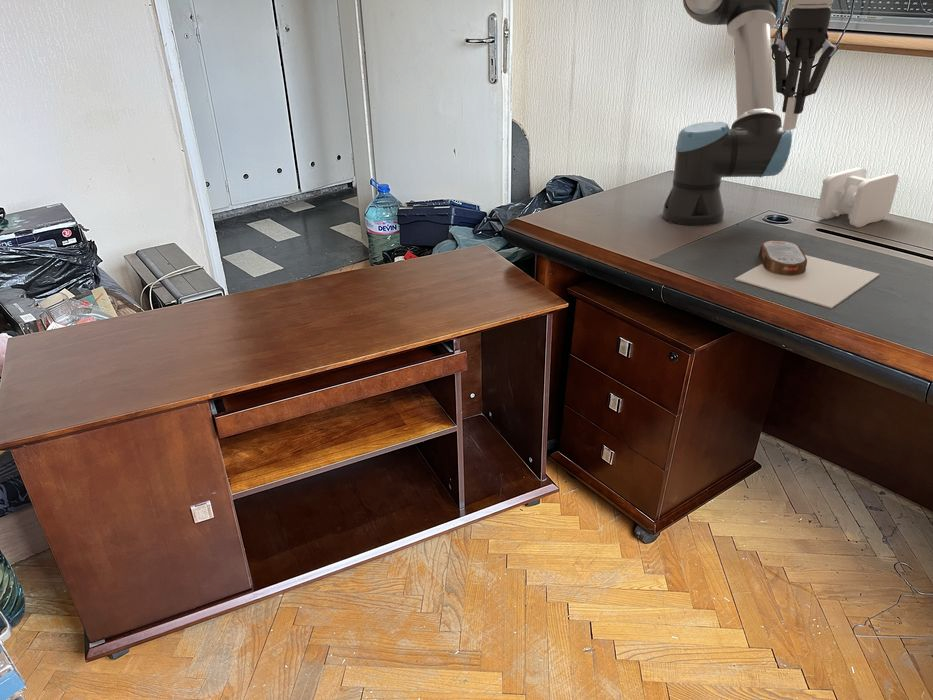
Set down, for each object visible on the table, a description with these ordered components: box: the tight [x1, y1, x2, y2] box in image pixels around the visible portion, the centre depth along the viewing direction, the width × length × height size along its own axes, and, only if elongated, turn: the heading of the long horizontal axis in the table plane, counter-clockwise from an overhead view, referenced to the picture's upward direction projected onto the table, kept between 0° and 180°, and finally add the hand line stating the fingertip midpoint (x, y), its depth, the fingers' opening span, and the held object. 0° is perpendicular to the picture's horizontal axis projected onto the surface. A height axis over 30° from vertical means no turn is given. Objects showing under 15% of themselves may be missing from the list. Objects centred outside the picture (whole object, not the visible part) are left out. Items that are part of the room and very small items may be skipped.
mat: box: [734, 254, 880, 309], centre depth 143 cm, size 20×22×1 cm
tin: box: [758, 239, 807, 276], centre depth 149 cm, size 15×3×8 cm
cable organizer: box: [816, 167, 900, 229], centre depth 170 cm, size 15×11×12 cm
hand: (789, 128), depth 147 cm, fingers closed
